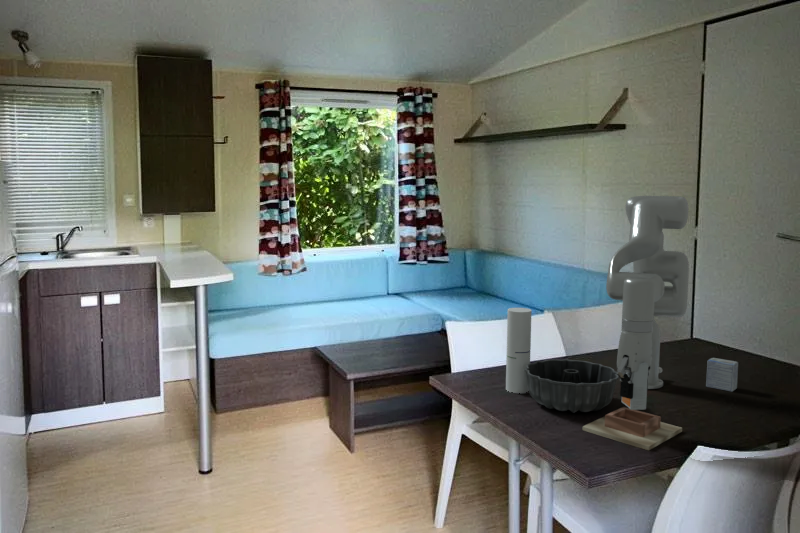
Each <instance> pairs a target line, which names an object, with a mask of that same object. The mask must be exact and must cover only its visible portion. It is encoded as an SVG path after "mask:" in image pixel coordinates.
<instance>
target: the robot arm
mask: <svg viewBox="0 0 800 533" xmlns="http://www.w3.org/2000/svg"><path fill="white" fill-rule="evenodd" d="M625 214H626V216H627V220H628V222H629V224H630V228H629V238H628V241H627V242H626V243H624V244H623V245H622V246H621V247H619V249H618V250H617V251H615V252H614V254H613V255H612V257H611V258H610V262H609V264H608V269H607V276H606V282H605V284H606V293H607V296H608V297H609V298H611V299H612V300H615V301H622V309H621V328H620V329H621V330H620V331H621V332H620V335H619V341H618V346H617V356H616V372H618V374H619V375H618V376H619V377H618V378H619V383H620V390H619V391H620V392H619V394H620V397H621V398H622V397H625V398H629V399H632V398H633V386H634V383H632V380H633V377H634V373H635V372H638V369H639V365H640V364H641V363H644V362H646V363H648V380H647V392H648V390H655V389H660V388H662V387H663V386H664V381H663V380H662V379H661V378H659V374H661V373H662V372H663V368H662V367H660V354H661V352H660V349H661V329H660V326H659V324H658V323H657V321H656V320H655V319H654V317H667V318H682V317H683V316H685V314H686V312H687V309H688V298H689V297H688V296H689V295H688V294H689V277H690V276H689V274H690V264H689V259H688V256H687V255H686V254H685V253H684V252H682V251H676V250H665V249H664V243H665V242H664V239H665V235H664V232H663V229H664V230H665V229H666V230H667V229H669V230H681V229H684V228H685V227H686V225H687V222H688V219H689V203H688V200H687V198H686V197H685V196H676V195H675V196H674V195H673V196H672V195H636V196H632V197H629V198H628V199H627V200H626V202H625ZM631 263H632V265H633V266H632V267H633V269H632V270H633V272H632V271H621V270H622V269H623V268H624V267H625V266H627V265H628V264H631ZM665 283H670V284H671V285H665ZM627 368H630V369H631V371H630V370H626V369H627ZM626 373H630V376H629V377H628V375H627V374H626Z"/></svg>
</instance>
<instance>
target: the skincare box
mask: <svg viewBox="0 0 800 533" xmlns="http://www.w3.org/2000/svg"><path fill="white" fill-rule="evenodd" d="M626 370H630V371H631V369H630V368H627V369H626ZM626 374H627V375H628V377H629V376H630V373H626ZM647 380H648V363H646V362H644V363H641V364H640V365H639V369H638V372H635V373H634V377H633V380H632V383H634V386H633V398H632V399H629V398H625V397H621V403H622V404H623V405H625V407H626V408H629V409H631V410H637V411H641V410H643V411H644V410H647V399H648V398H647V397H648V395H647V394H648V391H647Z"/></svg>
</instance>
